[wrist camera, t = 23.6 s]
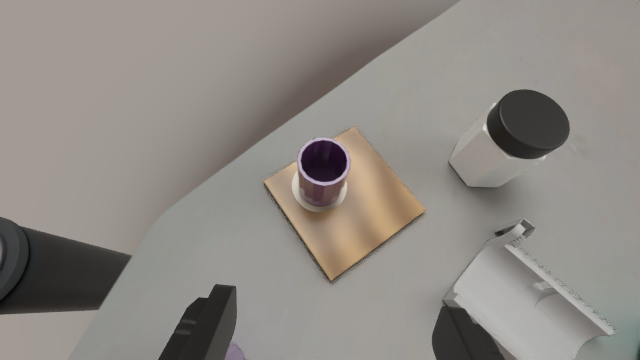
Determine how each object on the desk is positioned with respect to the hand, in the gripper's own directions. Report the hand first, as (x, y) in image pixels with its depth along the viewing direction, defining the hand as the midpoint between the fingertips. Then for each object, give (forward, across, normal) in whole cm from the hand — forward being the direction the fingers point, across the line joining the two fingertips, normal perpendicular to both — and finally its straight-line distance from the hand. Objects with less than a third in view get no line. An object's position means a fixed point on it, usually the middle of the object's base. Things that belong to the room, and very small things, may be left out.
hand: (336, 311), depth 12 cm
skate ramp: (+20, -26, +18) cm, 37 cm away
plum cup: (+29, +1, +7) cm, 30 cm away
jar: (+34, -23, +4) cm, 41 cm away
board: (+29, -3, +9) cm, 30 cm away
